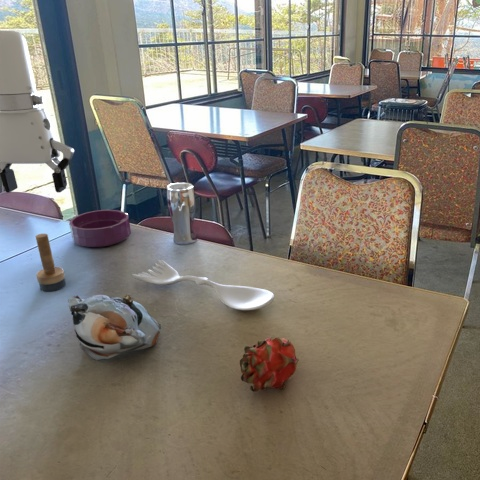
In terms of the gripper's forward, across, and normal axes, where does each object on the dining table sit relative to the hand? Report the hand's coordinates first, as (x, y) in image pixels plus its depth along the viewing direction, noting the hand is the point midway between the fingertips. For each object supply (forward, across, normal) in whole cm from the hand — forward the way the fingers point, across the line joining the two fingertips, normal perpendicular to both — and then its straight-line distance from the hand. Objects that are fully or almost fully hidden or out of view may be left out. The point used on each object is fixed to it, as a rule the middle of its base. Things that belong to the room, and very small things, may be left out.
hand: (36, 190), depth 96 cm
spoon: (+22, -32, +4) cm, 39 cm away
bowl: (+22, 0, -25) cm, 33 cm away
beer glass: (+22, -22, -24) cm, 39 cm away
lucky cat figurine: (+22, -21, +23) cm, 38 cm away
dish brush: (+22, +1, +1) cm, 22 cm away
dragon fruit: (+22, -48, +32) cm, 62 cm away
